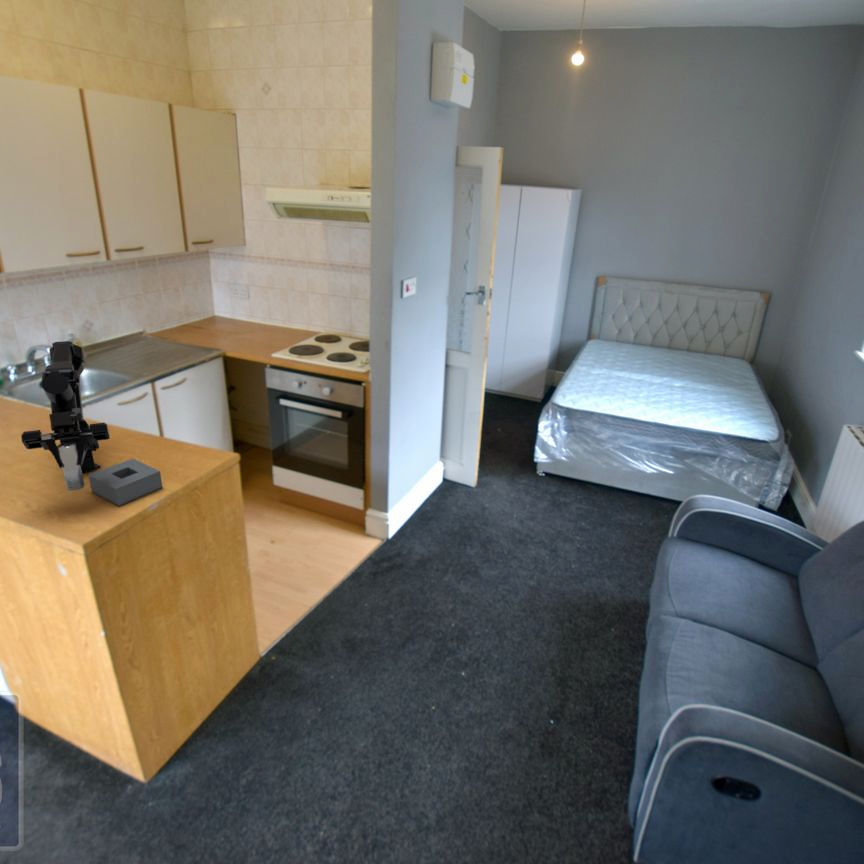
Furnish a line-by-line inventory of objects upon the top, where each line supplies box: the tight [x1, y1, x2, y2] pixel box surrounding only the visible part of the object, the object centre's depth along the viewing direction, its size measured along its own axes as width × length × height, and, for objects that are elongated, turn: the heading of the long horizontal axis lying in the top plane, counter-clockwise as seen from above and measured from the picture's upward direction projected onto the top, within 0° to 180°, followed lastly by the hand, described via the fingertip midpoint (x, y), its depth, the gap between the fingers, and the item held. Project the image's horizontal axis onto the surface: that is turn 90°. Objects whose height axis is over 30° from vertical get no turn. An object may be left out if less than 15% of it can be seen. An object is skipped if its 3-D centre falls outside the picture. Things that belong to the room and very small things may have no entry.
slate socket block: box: [88, 458, 163, 508], centre depth 162 cm, size 13×13×6 cm
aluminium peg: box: [57, 442, 85, 492], centre depth 147 cm, size 4×4×12 cm
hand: (70, 466), depth 146 cm, fingers closed on aluminium peg, 4 cm apart
